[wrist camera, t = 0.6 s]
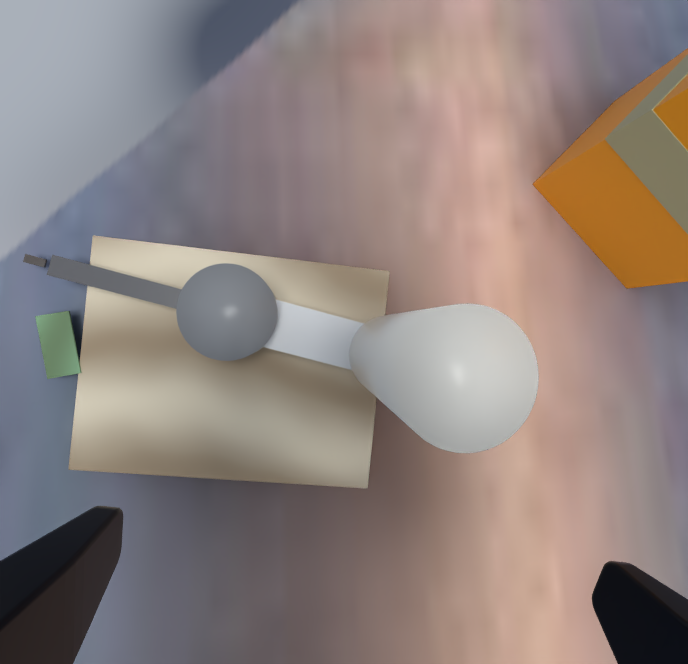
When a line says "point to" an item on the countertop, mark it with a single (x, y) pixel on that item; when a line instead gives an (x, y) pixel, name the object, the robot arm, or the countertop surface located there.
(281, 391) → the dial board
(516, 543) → the countertop surface
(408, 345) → the crank handle
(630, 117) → the orange juice
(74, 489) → the countertop surface
